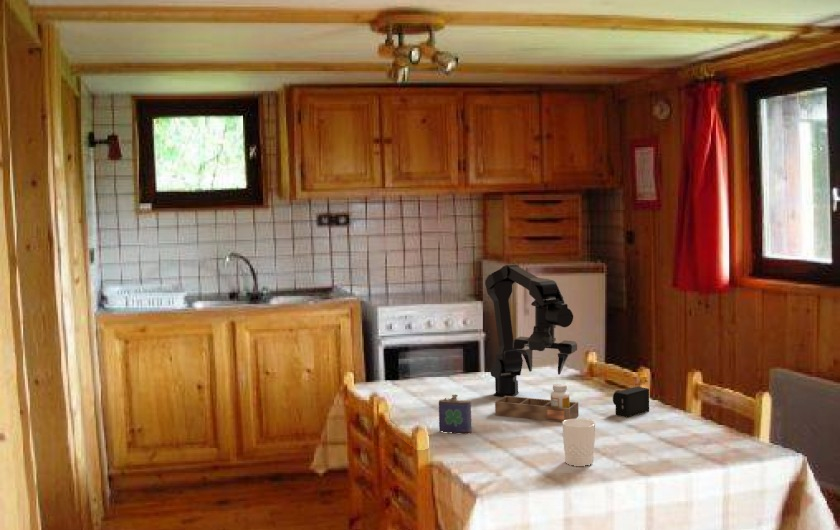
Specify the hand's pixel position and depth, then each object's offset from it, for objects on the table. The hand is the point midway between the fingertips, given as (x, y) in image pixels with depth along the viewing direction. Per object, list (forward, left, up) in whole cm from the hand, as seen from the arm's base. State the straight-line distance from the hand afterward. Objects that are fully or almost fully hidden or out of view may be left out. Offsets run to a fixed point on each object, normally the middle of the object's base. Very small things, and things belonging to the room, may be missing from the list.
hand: (544, 372), depth 270 cm
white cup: (+26, -47, -11) cm, 55 cm away
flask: (-14, -34, -11) cm, 38 cm away
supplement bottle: (+8, -9, -11) cm, 16 cm away
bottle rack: (+1, -9, -11) cm, 14 cm away
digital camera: (+25, +4, -11) cm, 28 cm away
